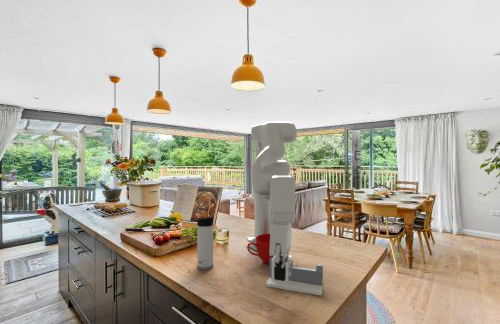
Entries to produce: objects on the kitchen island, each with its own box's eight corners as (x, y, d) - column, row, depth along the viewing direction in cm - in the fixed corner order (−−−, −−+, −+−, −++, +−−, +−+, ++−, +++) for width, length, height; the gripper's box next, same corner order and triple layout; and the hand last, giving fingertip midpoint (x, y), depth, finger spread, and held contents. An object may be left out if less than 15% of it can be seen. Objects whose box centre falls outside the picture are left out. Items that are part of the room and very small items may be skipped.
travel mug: (200, 271, 96) (200, 219, 96) (195, 265, 102) (195, 215, 102) (215, 268, 99) (215, 217, 99) (210, 262, 105) (210, 214, 105)
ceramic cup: (243, 259, 108) (243, 235, 108) (279, 254, 113) (279, 232, 113) (251, 271, 96) (251, 245, 96) (292, 266, 101) (292, 241, 101)
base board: (266, 286, 85) (266, 282, 85) (273, 273, 94) (273, 270, 94) (321, 295, 79) (321, 291, 79) (323, 281, 88) (323, 277, 88)
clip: (271, 279, 75) (271, 259, 75) (275, 271, 80) (275, 253, 80) (288, 282, 74) (288, 262, 73) (291, 274, 78) (291, 255, 78)
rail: (269, 277, 89) (269, 259, 89) (270, 276, 90) (270, 257, 90) (322, 285, 83) (322, 266, 83) (322, 284, 84) (322, 264, 84)
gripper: (276, 208, 85) (276, 261, 86) (262, 222, 69) (261, 287, 70) (298, 210, 83) (298, 265, 84) (289, 225, 67) (288, 292, 68)
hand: (281, 274), depth 77 cm, fingers closed on clip, 5 cm apart
